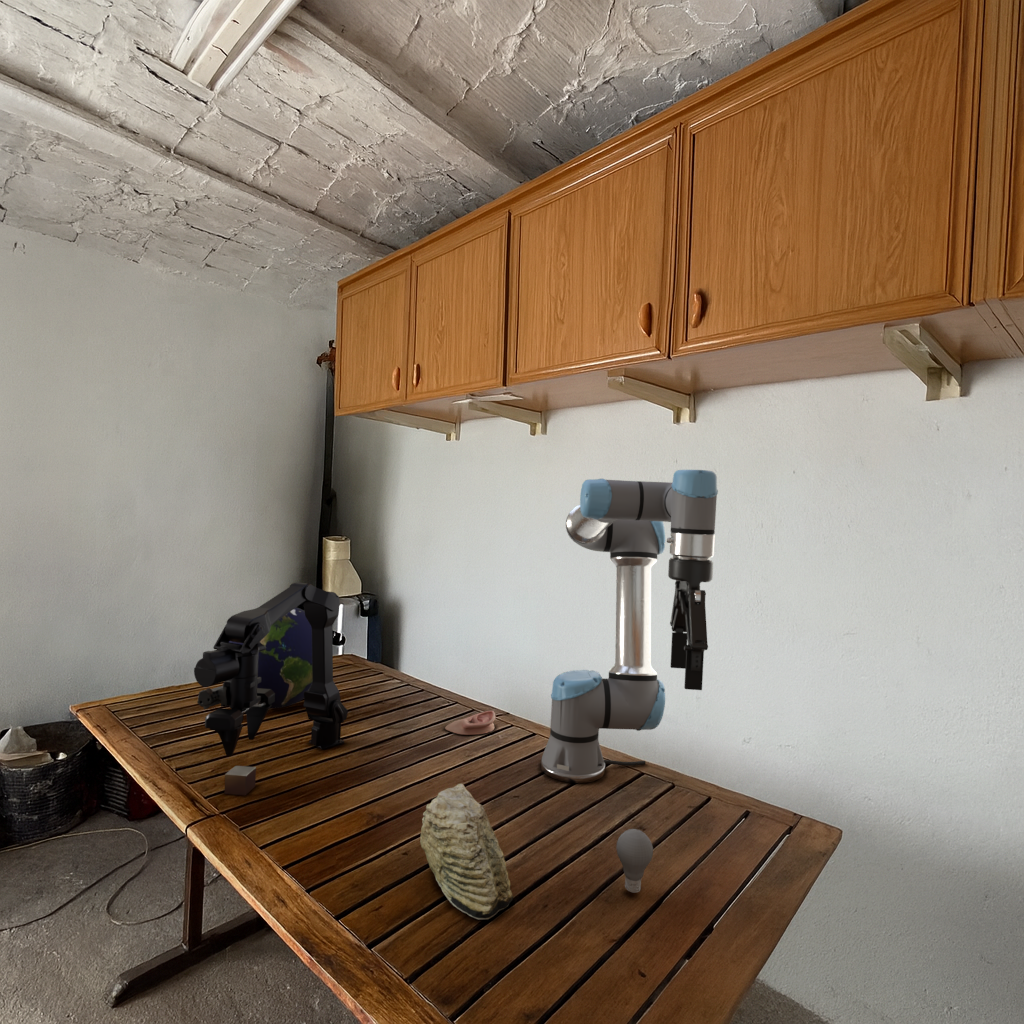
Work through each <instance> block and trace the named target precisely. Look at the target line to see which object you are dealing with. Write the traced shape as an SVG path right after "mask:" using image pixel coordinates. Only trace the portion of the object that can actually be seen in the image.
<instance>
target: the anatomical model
mask: <svg viewBox="0 0 1024 1024" xmlns="http://www.w3.org/2000/svg"><path fill="white" fill-rule="evenodd" d="M495 720H496V713H495V711H494V710H486V711H482V712H478V713H476V714H472V715H471V716H467V717H464V718H462V719H457V720H454V721H452V722H449V723H448V724H447V725H446V726H445V727H444V729H445V730H446V731H448V732H451V733H454V734H457V735H462V736H470V735H471V736H472V735H482V734H487V733H490V732H493V731H494V730H495V724H494V722H495Z"/></svg>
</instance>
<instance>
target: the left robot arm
mask: <svg viewBox="0 0 1024 1024" xmlns="http://www.w3.org/2000/svg"><path fill="white" fill-rule="evenodd" d="M340 604H341V601H340V597H339V595H338V594H337V593H336V592H335V591H327V590H324V589H321V588H318V587H316V586H314V585H312V584H311V583H306V582H297V581H295V582H293V583H291V584H290V585H289V587H287V588H286V589H284V590H283V591H281V592H279V593H278V594H277V595H275V596H274V597H272V598H271V599H269V600H267V601H265V602H264V603H263V604H261V605H260V606H258V607H256V608H252V609H247V610H243V611H241V612H238V613H236V614H233V615H231V616H230V617H229V618H228V619H227V620H226V624H225V625H224V627H223V629H222V631H221V632H220V634H219V636H218V638H217V640H216V642H215V643H214V645H213V647H212V648H213V649H214V650H207V651H203V652H202V658H200V659H199V660H198V661H197V662H196V663H195V664H196V665H195V667H194V669H193V675H194V679H195V681H196V682H197V683H198V685H200V686H201V687H204V688H206V689H203V690H201V691H199V692H198V695H197V701H196V702H197V703H196V704H197V705H199V706H200V707H202V708H203V710H208V709H209V708H211V707H214V706H218V705H220V707H218V708H216V709H215V710H213V711H212V712H210V713H209V714H207V715H206V716H205V717H204V727H205V729H209V730H211V731H214V732H216V734H217V735H218V737H219V739H220V741H221V744H222V747H223V750H224V753H225V756H226V757H230V758H231V757H232V756H233V755H234V752H235V750H236V747H237V744H238V742H239V738H240V735H241V733H242V731H243V727H244V724H243V721H244V713H245V715H246V729H247V738H248V740H250V741H253V740H254V739H255V738H256V737H257V734H258V732H259V730H260V728H261V726H262V724H263V721H264V720H265V718H266V716H267V714H268V712H269V710H270V707H271V706H272V705H271V704H272V703H273V702H274V701H275V693H274V692H273V691H272V690H271V689H262V688H257V684H258V683H260V682H261V677H258V653H259V652H260V651H263V650H266V647H265V646H264V645H263V644H261V642H260V641H261V640H262V639H263V638H264V637H265V636H266V635H267V634H268V633H269V631H270V628H271V626H272V625H273V624H274V623H275V622H276V621H278V620H279V619H281V618H282V617H283V616H285V615H286V614H288V613H289V612H290V611H292V610H293V609H295V608H296V607H297V608H299V606H300V605H301V606H302V607H303V610H304V612H305V617H306V618H307V620H308V622H309V623H310V625H311V627H312V684H311V686H310V688H309V689H308V691H305V692H304V699H303V700H304V701H303V708H304V710H305V712H306V715H307V719H308V720H312V722H313V723H312V727H311V730H310V731H311V732H310V733H311V735H310V739H309V740H308V743H309V744H310V745H313V746H314V747H316V748H318V749H320V750H327V749H329V748H333V747H336V746H340V745H343V744H344V743H345V741H344V740H343V739H341V737H342V735H341V733H342V724H343V723H344V722H345V721H346V720H347V718H348V714H349V710H348V709H347V708H346V706H345V705H344V704H343V703H342V701H341V693H340V690H339V688H338V686H337V685H336V683H335V681H334V659H333V654H334V653H333V652H334V651H333V650H334V649H333V647H334V646H333V645H334V644H333V625H334V623H335V622H336V620H337V618H338V617H339V613H340ZM229 641H232V642H238V643H244V644H243V645H242V644H236V643H230V642H229ZM221 683H222V685H220V686H217V687H214V688H210V687H213V686H215V685H218V684H221ZM227 707H229V708H227Z"/></svg>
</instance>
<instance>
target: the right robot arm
mask: <svg viewBox="0 0 1024 1024" xmlns="http://www.w3.org/2000/svg"><path fill="white" fill-rule="evenodd" d="M718 494H719V490H718V476H717V474H716V472H714V471H713V470H705V469H677V470H676V471H674V473H673V476H672V482H669V481H668V482H667V481H644V480H643V481H642V480H641V481H640V480H639V481H637V480H620V479H605V478H596V479H595V478H593V479H585V480H584V481H583V482H582V484H581V489H580V495H579V504H578V505H576V506H574V507H573V508H572V509H571V510H570V512H569V513H568V515H567V516H566V520H565V531H566V532H567V535H568V536H569V538H570V539H571V540H572V541H573V542H574V543H575V544H576V545H578V546H580V547H581V548H584V549H586V550H589V551H592V552H593V551H595V552H602V553H609V560H610V562H612V563H613V565H614V566H615V631H614V633H615V636H614V642H615V643H614V652H615V653H614V665H613V666H612V667H611V668H610V669H608V678H603V677H602V674H601V673H600V672H599V671H597V670H589V669H574V670H573V669H572V670H568V671H565V672H564V671H563V672H562V673H560V674H558V675H557V676H555V677H554V679H553V681H552V689H551V694H550V698H551V711H550V726H549V727H550V730H549V737H548V741H547V742H546V745H545V748H544V751H543V753H542V757H541V760H540V765H541V766H540V769H541V770H542V772H543V773H544V774H545V775H547V776H548V777H550V778H552V779H555V780H557V781H561V782H566V783H573V784H585V783H591V782H596V781H597V780H600V779H602V777H604V776H605V770H606V769H605V768H606V765H613V766H614V765H615V766H624V767H626V766H627V767H631V766H644V765H646V761H645V760H638V761H622V760H621V761H620V760H612V759H604V756H603V752H602V749H601V744H600V741H599V736H600V735H599V731H600V729H606V730H635V731H636V732H639V731H640V732H641V731H646V730H647V731H651V730H655V729H657V728H658V727H659V725H660V724H661V722H662V721H663V720H662V719H663V717H664V714H665V713H664V712H665V708H666V692H665V691H666V687H665V684H664V681H662V680H660V679H658V672H657V671H655V669H654V668H653V667H652V567H653V566H654V565H655V564H656V563H657V562H658V556H660V555H661V554H663V553H664V551H665V548H666V544H665V543H667V544H669V554H670V555H671V556H672V557H670V558H669V559H668V573H667V576H668V578H669V579H671V580H673V581H675V582H674V585H675V586H674V597H673V601H672V609H671V615H670V621H669V625H670V627H671V646H670V668H671V669H684V686H683V687H684V689H685V690H692V691H694V690H695V691H703V678H704V677H703V676H704V659H705V658H704V657H705V651H708V648H709V645H708V628H707V613H706V595H707V592H706V590H705V589H701V583H709V582H711V581H712V580H713V579H714V578H713V576H714V575H713V574H714V562H713V560H711V558H713V557H715V541H716V534H715V532H716V531H715V530H716V518H717V517H716V514H717V499H718ZM664 522H665V523H670V537H667V538H666V531H665V526H664V524H665V523H664Z"/></svg>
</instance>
